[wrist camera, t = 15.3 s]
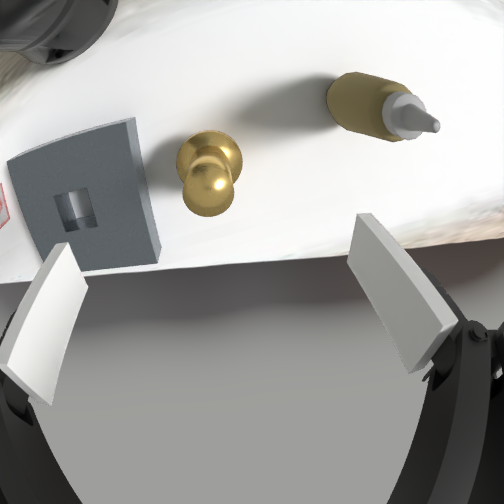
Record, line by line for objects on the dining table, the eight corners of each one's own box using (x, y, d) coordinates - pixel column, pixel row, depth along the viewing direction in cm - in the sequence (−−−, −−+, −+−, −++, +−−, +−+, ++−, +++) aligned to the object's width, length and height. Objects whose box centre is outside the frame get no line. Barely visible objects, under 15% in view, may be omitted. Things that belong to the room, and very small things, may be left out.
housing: (58, 260, 39) (49, 274, 36) (21, 152, 28) (6, 161, 25) (161, 247, 41) (157, 263, 38) (135, 117, 29) (126, 121, 26)
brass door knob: (169, 158, 33) (147, 200, 22) (207, 114, 31) (203, 132, 20) (212, 191, 37) (213, 246, 26) (251, 151, 34) (271, 189, 23)
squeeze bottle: (315, 70, 29) (399, 71, 14) (369, 74, 29) (466, 88, 15) (318, 127, 33) (395, 171, 19) (370, 127, 34) (458, 171, 19)
